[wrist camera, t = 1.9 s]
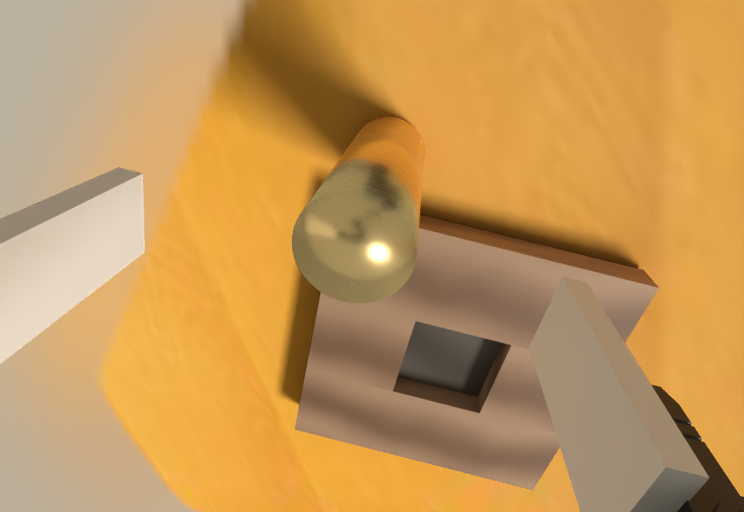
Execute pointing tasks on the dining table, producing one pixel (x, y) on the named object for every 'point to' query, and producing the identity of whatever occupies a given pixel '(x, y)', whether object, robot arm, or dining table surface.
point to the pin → (365, 216)
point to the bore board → (455, 353)
